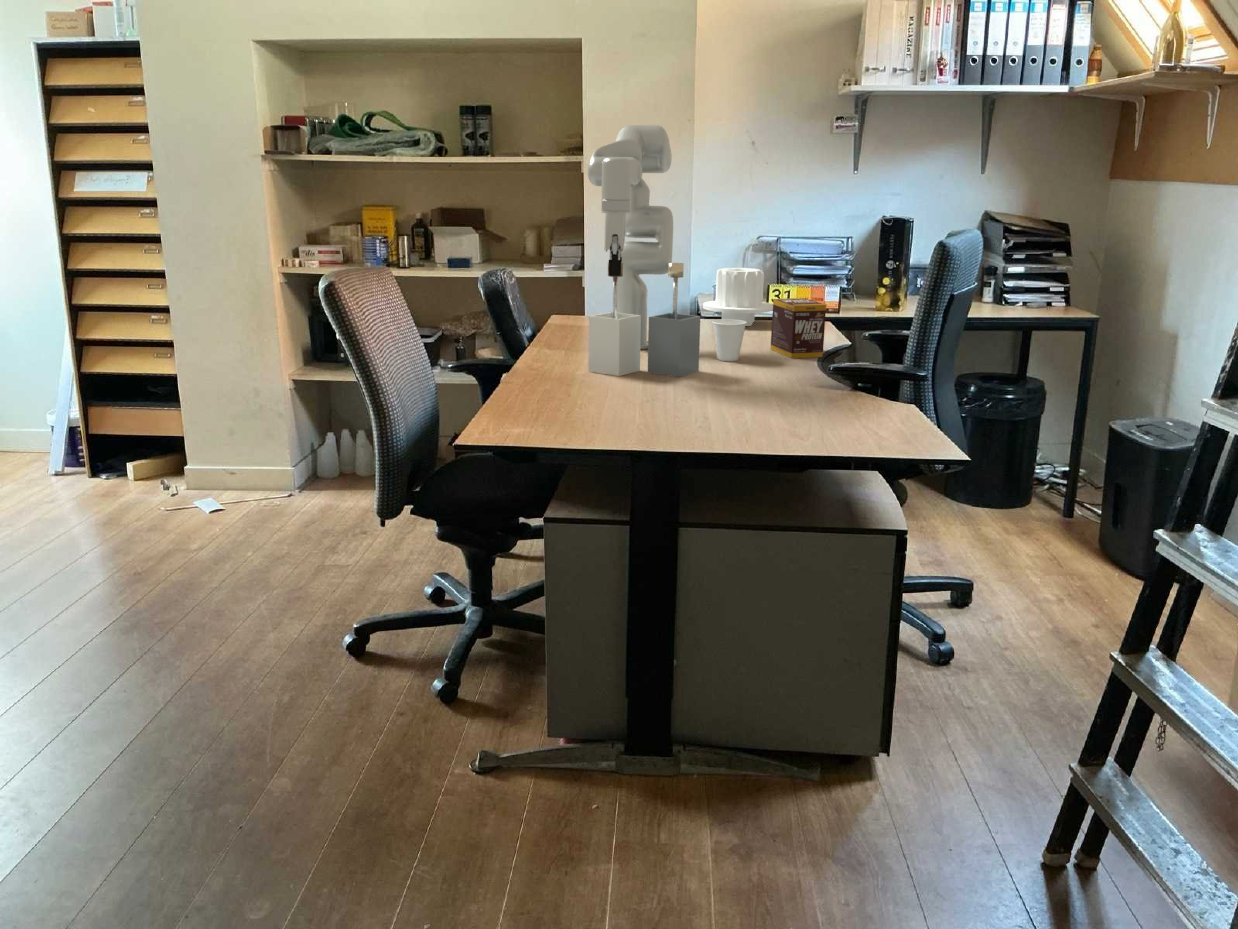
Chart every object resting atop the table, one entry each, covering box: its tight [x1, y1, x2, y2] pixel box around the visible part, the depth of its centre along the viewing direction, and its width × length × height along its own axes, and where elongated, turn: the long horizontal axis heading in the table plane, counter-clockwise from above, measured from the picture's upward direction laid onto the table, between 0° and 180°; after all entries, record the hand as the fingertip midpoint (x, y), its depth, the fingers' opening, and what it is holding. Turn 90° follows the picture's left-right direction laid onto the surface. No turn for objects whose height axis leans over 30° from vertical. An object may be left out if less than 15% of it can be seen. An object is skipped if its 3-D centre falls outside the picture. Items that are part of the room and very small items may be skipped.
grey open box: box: [647, 312, 701, 378], centre depth 277 cm, size 10×10×15 cm
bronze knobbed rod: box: [607, 261, 623, 319], centre depth 274 cm, size 8×8×19 cm
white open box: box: [588, 311, 641, 377], centre depth 278 cm, size 10×10×15 cm
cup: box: [711, 318, 747, 362], centre depth 296 cm, size 10×10×11 cm
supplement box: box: [770, 297, 827, 359], centre depth 307 cm, size 10×15×16 cm
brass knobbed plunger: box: [667, 262, 685, 320], centre depth 274 cm, size 8×8×19 cm
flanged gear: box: [702, 267, 773, 327], centre depth 361 cm, size 25×25×19 cm
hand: (615, 273), depth 272 cm, fingers open, 9 cm apart
